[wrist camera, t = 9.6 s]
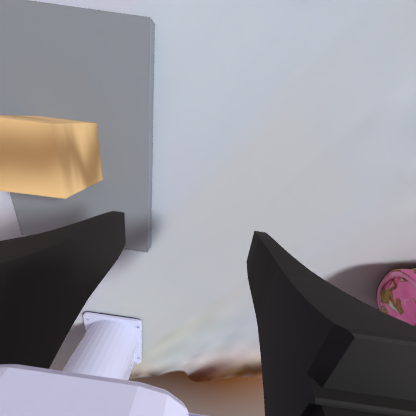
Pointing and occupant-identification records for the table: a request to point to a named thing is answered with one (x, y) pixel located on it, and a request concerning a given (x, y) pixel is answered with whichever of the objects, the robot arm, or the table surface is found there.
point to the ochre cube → (48, 155)
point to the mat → (84, 104)
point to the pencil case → (399, 295)
